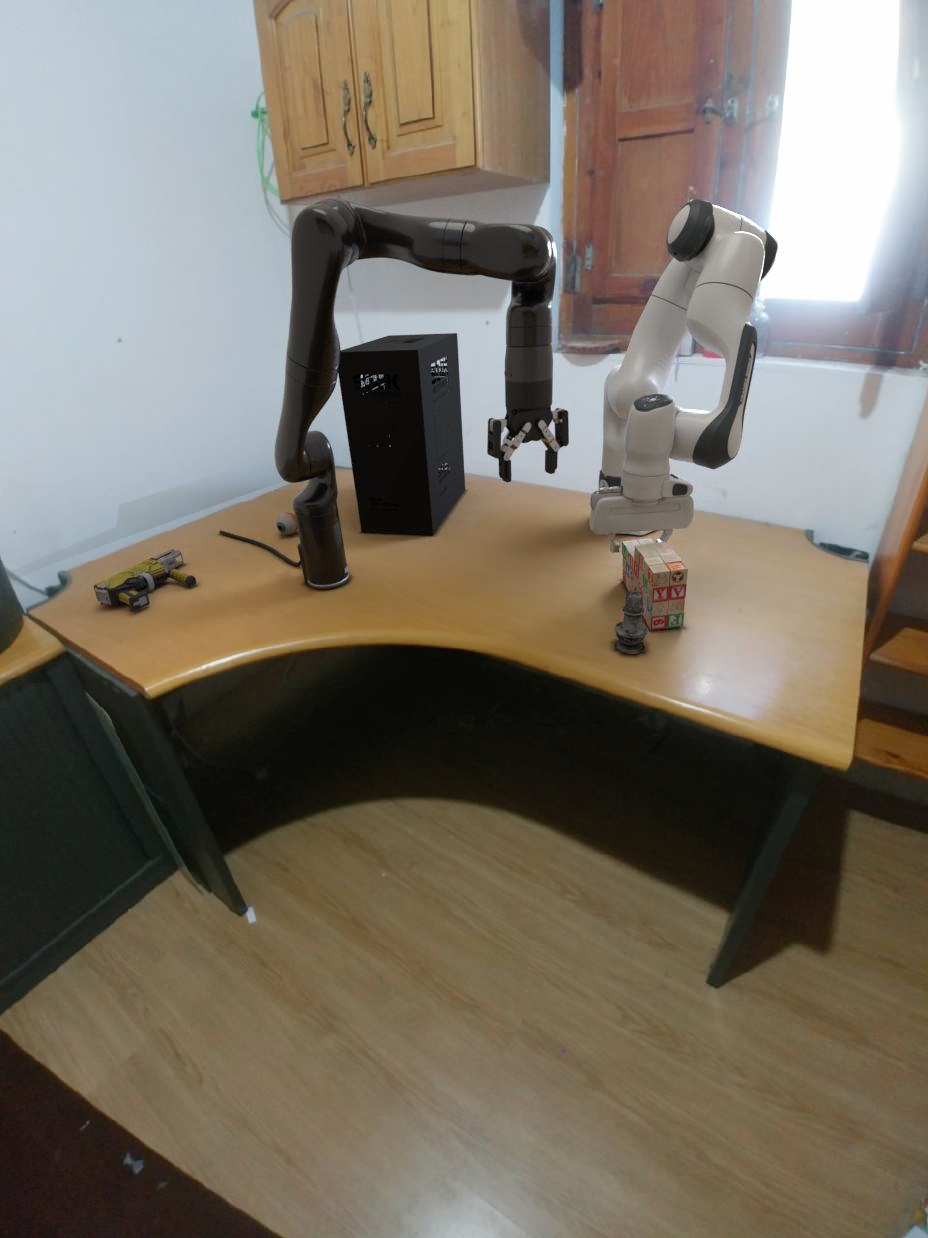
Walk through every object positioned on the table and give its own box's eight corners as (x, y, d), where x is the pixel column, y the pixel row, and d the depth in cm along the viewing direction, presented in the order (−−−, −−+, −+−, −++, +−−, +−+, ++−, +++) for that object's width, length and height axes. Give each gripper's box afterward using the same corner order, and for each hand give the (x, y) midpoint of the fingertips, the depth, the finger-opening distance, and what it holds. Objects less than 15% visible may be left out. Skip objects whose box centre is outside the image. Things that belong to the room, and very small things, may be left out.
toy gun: (219, 557, 146) (169, 546, 150) (142, 598, 126) (87, 585, 129) (222, 574, 148) (172, 563, 152) (147, 618, 128) (92, 604, 132)
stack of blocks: (621, 580, 131) (622, 527, 125) (650, 576, 131) (652, 523, 125) (650, 631, 113) (652, 572, 107) (684, 627, 113) (688, 567, 106)
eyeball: (273, 537, 164) (268, 516, 161) (287, 528, 169) (282, 508, 166) (291, 539, 161) (286, 518, 158) (305, 530, 166) (301, 510, 163)
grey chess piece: (647, 656, 105) (654, 595, 99) (612, 653, 107) (618, 593, 101) (645, 638, 110) (652, 579, 104) (612, 636, 111) (617, 578, 105)
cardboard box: (433, 535, 159) (417, 349, 136) (361, 532, 163) (335, 352, 141) (465, 489, 190) (457, 332, 168) (404, 488, 195) (388, 335, 172)
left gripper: (499, 384, 89) (501, 490, 98) (580, 373, 94) (576, 475, 102) (477, 378, 95) (481, 478, 104) (554, 368, 100) (552, 465, 108)
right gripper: (595, 493, 114) (591, 560, 121) (701, 485, 115) (691, 552, 122) (587, 483, 119) (583, 547, 126) (688, 475, 120) (679, 540, 127)
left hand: (528, 476), depth 103 cm, fingers open, 8 cm apart
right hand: (637, 549), depth 124 cm, fingers open, 8 cm apart
